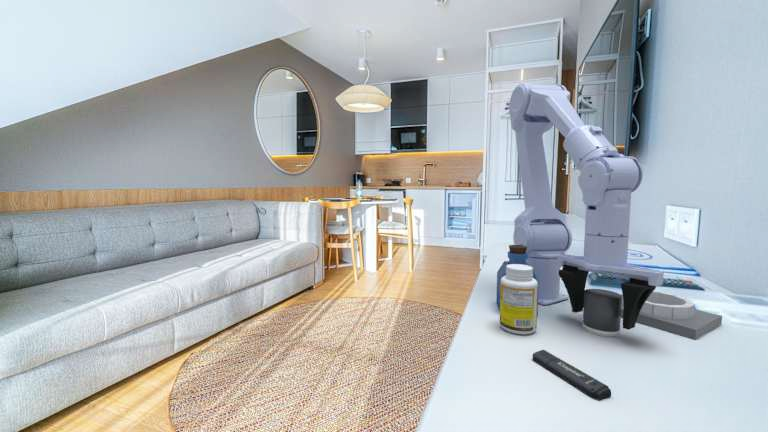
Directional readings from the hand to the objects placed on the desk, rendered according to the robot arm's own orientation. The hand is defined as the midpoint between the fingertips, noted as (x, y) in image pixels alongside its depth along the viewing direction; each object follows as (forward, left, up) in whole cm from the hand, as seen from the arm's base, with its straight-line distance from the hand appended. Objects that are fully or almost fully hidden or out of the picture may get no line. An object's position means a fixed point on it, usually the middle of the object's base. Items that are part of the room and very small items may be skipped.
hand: (601, 318), depth 53 cm
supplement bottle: (-7, -11, -2) cm, 13 cm away
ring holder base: (+2, +14, -2) cm, 14 cm away
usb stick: (+5, -17, -2) cm, 18 cm away
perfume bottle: (-13, -4, -2) cm, 14 cm away
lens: (0, 0, -2) cm, 2 cm away
